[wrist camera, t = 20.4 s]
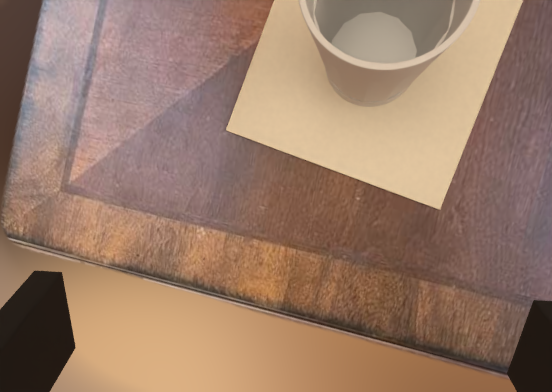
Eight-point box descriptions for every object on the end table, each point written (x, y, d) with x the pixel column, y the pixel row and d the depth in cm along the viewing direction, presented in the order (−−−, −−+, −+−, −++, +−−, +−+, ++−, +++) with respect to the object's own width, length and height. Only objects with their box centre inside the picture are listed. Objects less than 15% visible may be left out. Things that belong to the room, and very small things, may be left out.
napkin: (226, 130, 33) (225, 130, 33) (304, -79, 33) (304, -82, 32) (439, 209, 31) (439, 209, 31) (527, -13, 31) (529, -15, 30)
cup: (452, 34, 31) (520, -69, 19) (394, 138, 31) (427, 101, 20) (347, -15, 32) (350, -141, 20) (293, 87, 32) (265, 22, 21)
